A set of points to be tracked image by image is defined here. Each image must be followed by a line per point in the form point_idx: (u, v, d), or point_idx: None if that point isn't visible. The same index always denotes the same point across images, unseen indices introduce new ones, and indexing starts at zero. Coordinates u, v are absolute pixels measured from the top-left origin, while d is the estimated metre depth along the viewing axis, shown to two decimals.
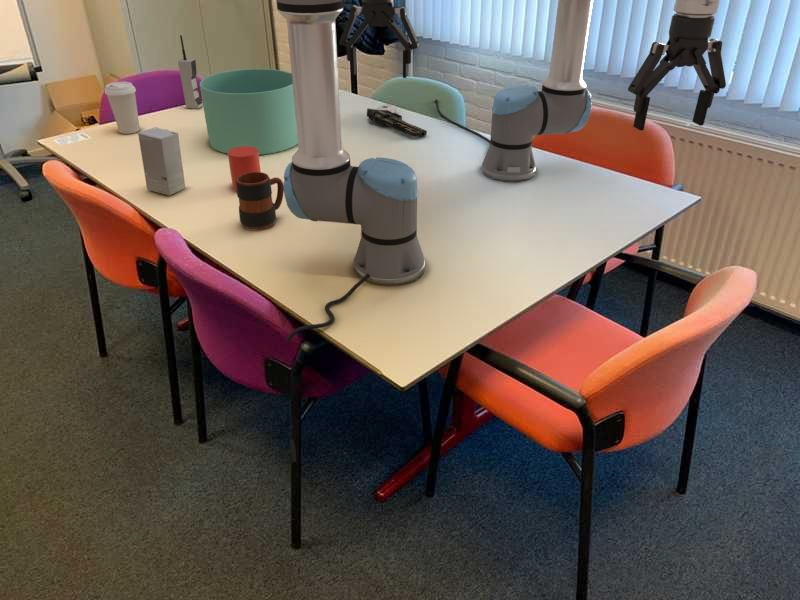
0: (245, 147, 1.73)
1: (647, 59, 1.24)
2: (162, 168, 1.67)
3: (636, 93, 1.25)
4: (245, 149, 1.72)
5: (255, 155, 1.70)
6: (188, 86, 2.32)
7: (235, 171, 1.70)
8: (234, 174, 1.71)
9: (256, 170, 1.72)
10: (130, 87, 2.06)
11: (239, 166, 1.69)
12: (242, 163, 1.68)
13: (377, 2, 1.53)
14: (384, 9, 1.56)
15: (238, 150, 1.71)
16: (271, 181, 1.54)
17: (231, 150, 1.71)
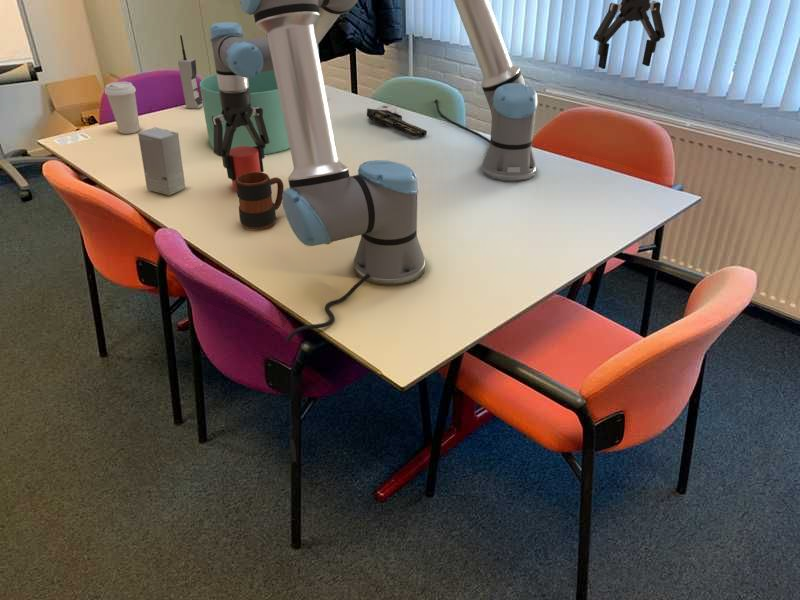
0: (245, 147, 1.73)
1: (606, 15, 1.72)
2: (162, 168, 1.67)
3: (599, 40, 1.73)
4: (245, 149, 1.72)
5: (255, 155, 1.70)
6: (188, 86, 2.32)
7: (235, 171, 1.70)
8: None
9: (256, 170, 1.72)
10: (130, 87, 2.06)
11: (239, 166, 1.69)
12: (242, 163, 1.68)
13: (245, 105, 1.62)
14: (245, 109, 1.65)
15: (238, 150, 1.71)
16: (271, 181, 1.54)
17: (231, 150, 1.71)
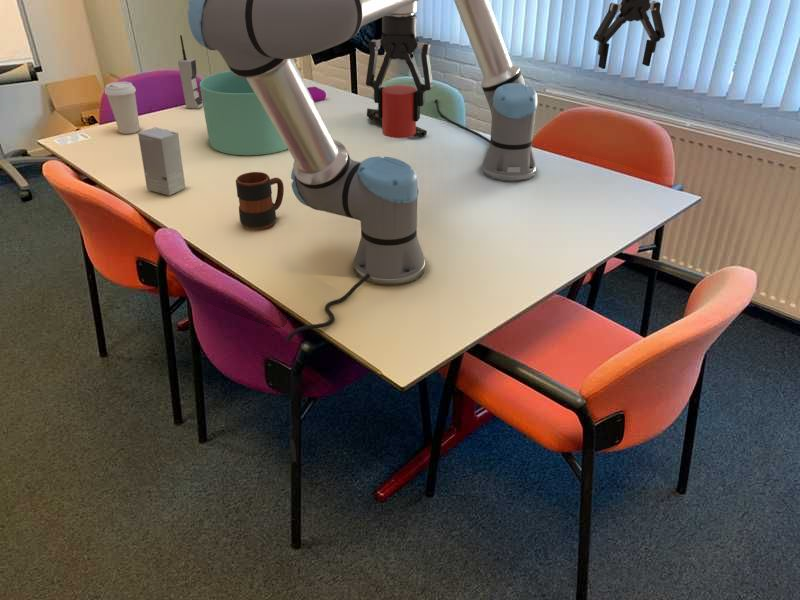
0: (409, 88, 1.49)
1: (606, 15, 1.72)
2: (162, 168, 1.67)
3: (599, 40, 1.73)
4: (403, 89, 1.48)
5: (401, 97, 1.45)
6: (188, 86, 2.32)
7: (382, 108, 1.50)
8: (382, 111, 1.51)
9: (400, 114, 1.47)
10: (130, 87, 2.06)
11: (383, 103, 1.48)
12: (385, 100, 1.47)
13: (398, 33, 1.38)
14: (405, 41, 1.41)
15: (399, 87, 1.49)
16: (271, 181, 1.54)
17: (393, 86, 1.51)
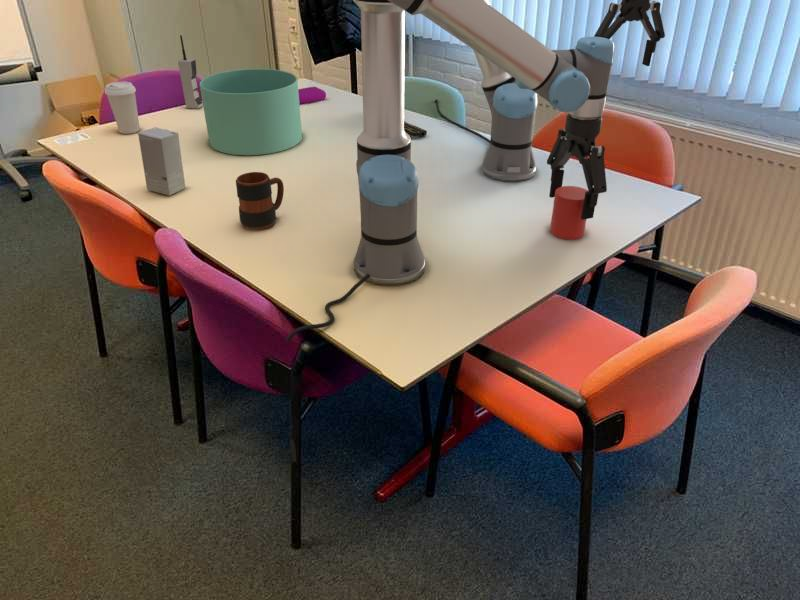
0: None
1: (606, 15, 1.72)
2: (162, 168, 1.67)
3: None
4: (577, 194, 1.47)
5: (563, 200, 1.46)
6: (188, 86, 2.32)
7: None
8: None
9: (559, 215, 1.48)
10: (130, 87, 2.06)
11: None
12: (554, 198, 1.50)
13: (570, 133, 1.38)
14: (581, 142, 1.39)
15: (577, 191, 1.49)
16: (271, 181, 1.54)
17: (577, 187, 1.50)
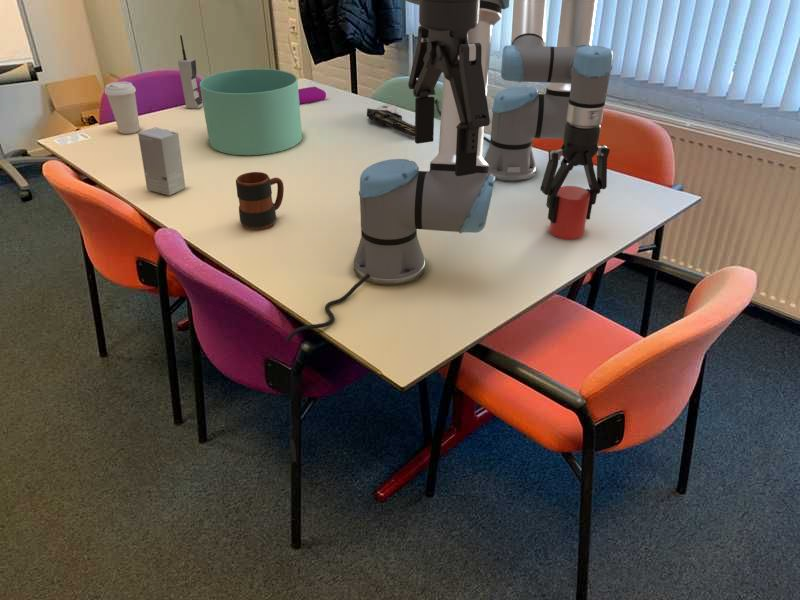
0: (585, 194, 1.47)
1: (548, 164, 1.43)
2: (162, 168, 1.67)
3: (547, 194, 1.45)
4: (576, 194, 1.47)
5: (562, 200, 1.46)
6: (188, 86, 2.32)
7: None
8: None
9: (559, 215, 1.48)
10: (130, 87, 2.06)
11: None
12: None
13: (424, 25, 0.80)
14: (446, 41, 0.81)
15: (577, 191, 1.49)
16: (271, 181, 1.54)
17: (577, 187, 1.50)
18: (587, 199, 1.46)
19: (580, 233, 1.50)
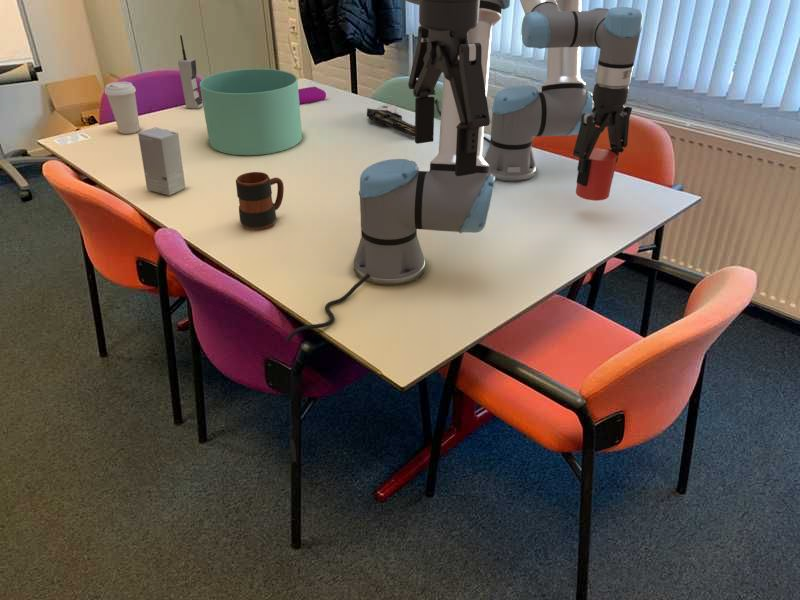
0: (611, 154, 1.52)
1: (581, 128, 1.45)
2: (162, 168, 1.67)
3: (582, 157, 1.47)
4: (604, 155, 1.51)
5: (595, 162, 1.49)
6: (188, 86, 2.32)
7: None
8: None
9: (590, 178, 1.52)
10: (130, 87, 2.06)
11: None
12: None
13: (424, 25, 0.80)
14: (446, 41, 0.81)
15: (602, 152, 1.53)
16: (271, 181, 1.54)
17: (599, 149, 1.54)
18: None
19: (608, 193, 1.55)
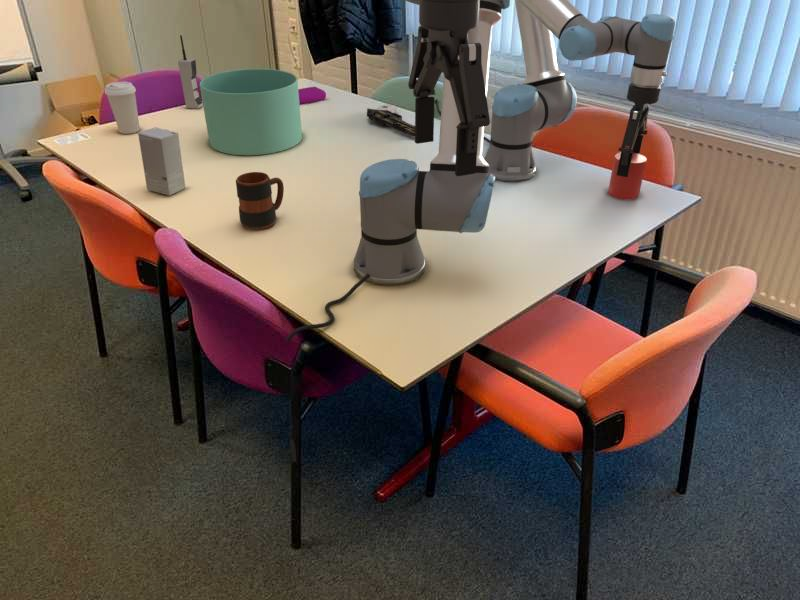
0: (639, 155, 1.68)
1: (629, 124, 1.56)
2: (162, 168, 1.67)
3: (631, 151, 1.57)
4: (634, 157, 1.67)
5: (636, 165, 1.64)
6: (188, 86, 2.32)
7: (612, 173, 1.69)
8: (611, 175, 1.70)
9: (631, 180, 1.66)
10: (130, 87, 2.06)
11: (616, 169, 1.67)
12: None
13: (424, 25, 0.80)
14: (446, 41, 0.81)
15: None
16: (271, 181, 1.54)
17: None
18: None
19: None
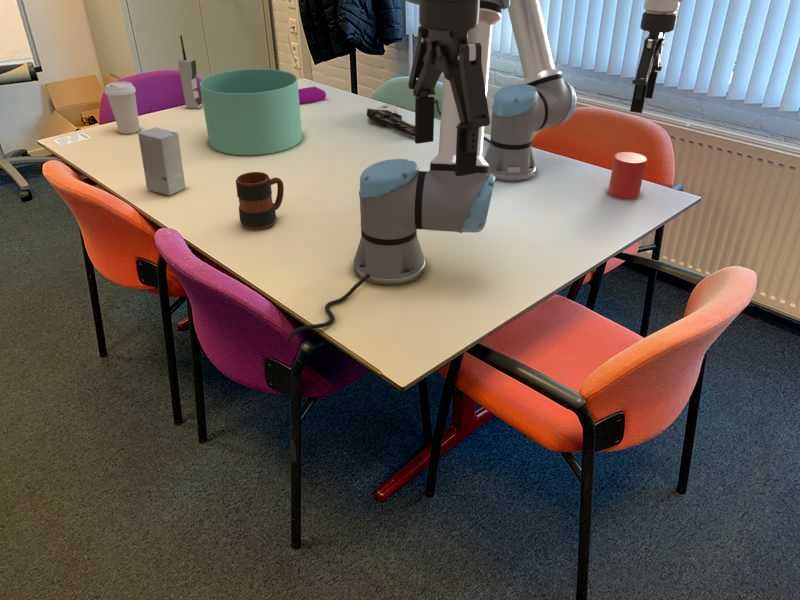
0: (639, 155, 1.68)
1: (644, 53, 1.47)
2: (162, 168, 1.67)
3: (645, 83, 1.47)
4: (634, 157, 1.67)
5: (636, 165, 1.64)
6: (188, 86, 2.32)
7: (612, 173, 1.69)
8: (611, 175, 1.70)
9: (631, 180, 1.66)
10: (130, 87, 2.06)
11: (616, 169, 1.67)
12: (619, 167, 1.66)
13: (424, 25, 0.80)
14: (446, 41, 0.81)
15: (629, 155, 1.68)
16: (271, 181, 1.54)
17: (623, 153, 1.69)
18: None
19: None
